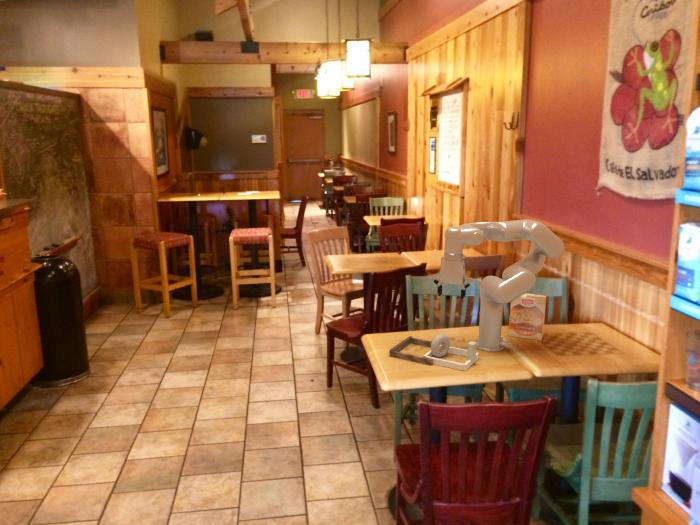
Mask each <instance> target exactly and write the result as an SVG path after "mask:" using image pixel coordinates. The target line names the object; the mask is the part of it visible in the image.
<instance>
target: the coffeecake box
mask: <svg viewBox="0 0 700 525" xmlns="http://www.w3.org/2000/svg"><path fill="white" fill-rule="evenodd" d="M546 304H547V295H542V294H533V293H525V294H524V295H522V296H520V297H518V298H517V299H515V300H513V301H511V302H510V308H509V321H508V322H509V324H508V334H507V336H508V337H515V338H521V339H528V340H529V339H530V340H537V341H542V339H543V337H544V327H545V316H546V306H547V305H546Z"/></svg>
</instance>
